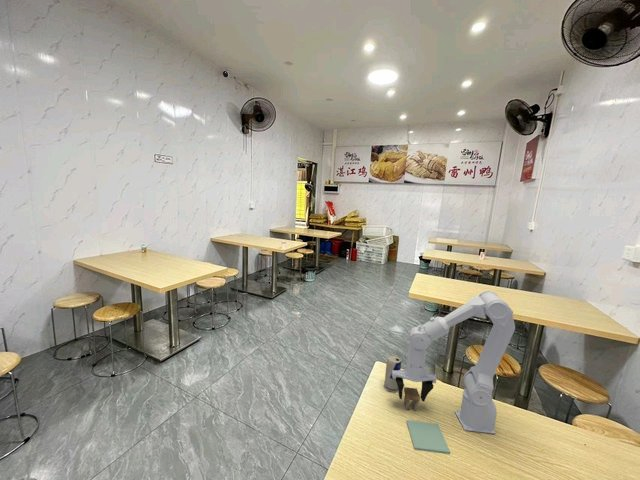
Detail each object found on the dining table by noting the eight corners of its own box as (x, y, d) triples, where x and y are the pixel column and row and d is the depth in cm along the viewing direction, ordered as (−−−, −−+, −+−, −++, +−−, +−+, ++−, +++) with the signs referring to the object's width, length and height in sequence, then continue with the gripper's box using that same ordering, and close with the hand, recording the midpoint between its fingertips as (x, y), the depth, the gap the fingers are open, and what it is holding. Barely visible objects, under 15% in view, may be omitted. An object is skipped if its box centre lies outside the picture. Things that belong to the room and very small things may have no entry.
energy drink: (400, 392, 100) (403, 363, 99) (385, 391, 100) (388, 362, 99) (396, 383, 106) (399, 355, 104) (382, 382, 106) (385, 354, 104)
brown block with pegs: (414, 402, 96) (416, 388, 95) (418, 412, 92) (420, 397, 91) (402, 401, 96) (404, 387, 95) (405, 410, 92) (407, 395, 91)
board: (437, 425, 86) (437, 423, 86) (450, 453, 77) (450, 452, 76) (406, 421, 87) (406, 419, 87) (414, 449, 77) (414, 447, 77)
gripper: (433, 358, 95) (428, 392, 97) (392, 353, 96) (388, 388, 98) (440, 370, 88) (435, 407, 90) (395, 365, 89) (391, 402, 91)
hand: (411, 398), depth 93 cm, fingers open, 7 cm apart
